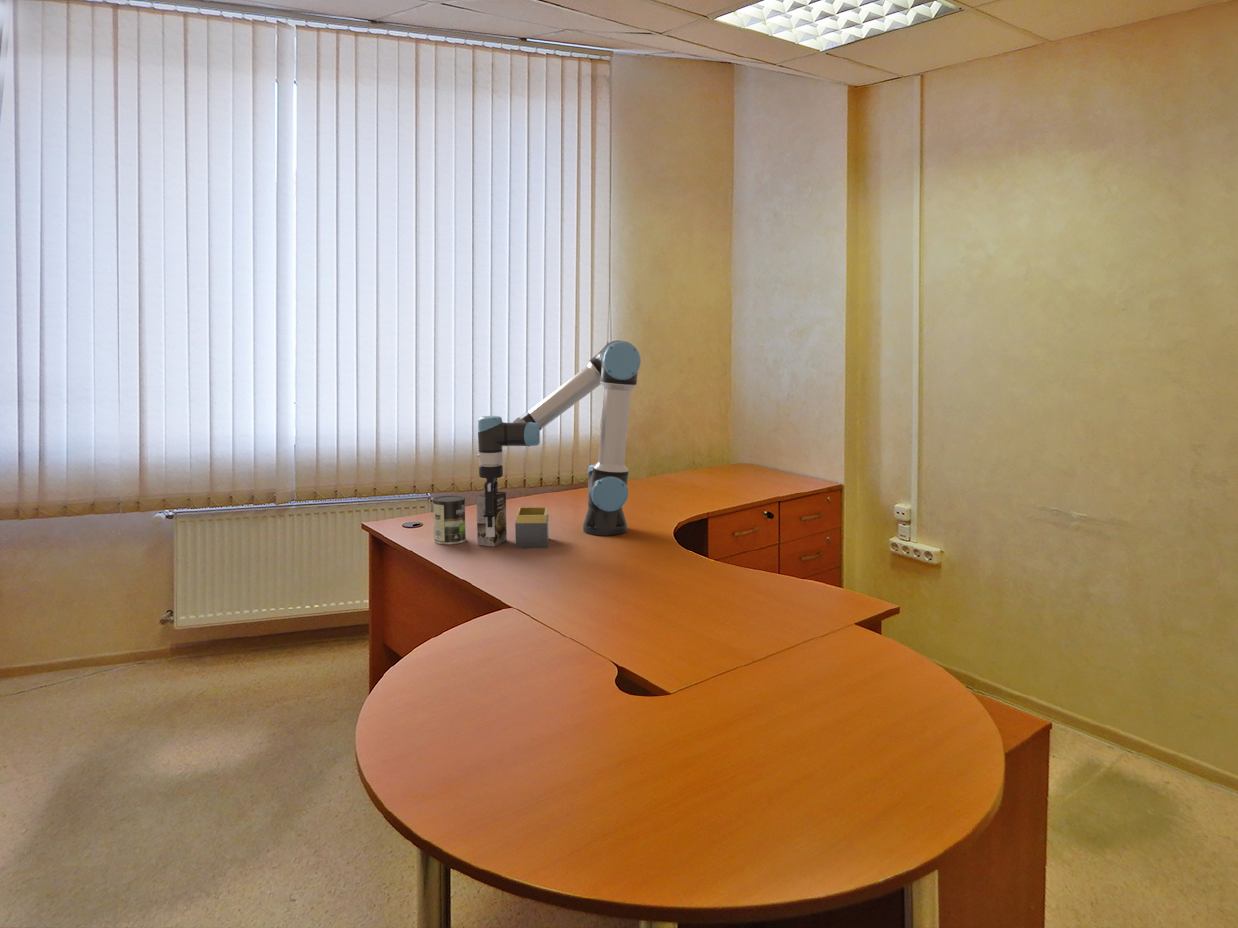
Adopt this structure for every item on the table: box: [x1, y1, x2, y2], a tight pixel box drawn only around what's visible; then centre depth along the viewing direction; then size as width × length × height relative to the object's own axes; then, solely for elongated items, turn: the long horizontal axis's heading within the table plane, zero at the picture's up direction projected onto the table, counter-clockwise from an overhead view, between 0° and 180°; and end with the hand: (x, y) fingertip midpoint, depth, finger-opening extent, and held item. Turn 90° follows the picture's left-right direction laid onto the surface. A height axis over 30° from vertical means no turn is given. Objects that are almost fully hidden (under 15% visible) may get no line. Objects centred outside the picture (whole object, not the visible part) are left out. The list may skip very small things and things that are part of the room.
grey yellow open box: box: [514, 506, 550, 549], centre depth 272 cm, size 10×12×10 cm
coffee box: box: [476, 491, 508, 547], centre depth 272 cm, size 9×6×16 cm
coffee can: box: [432, 495, 467, 545], centre depth 274 cm, size 10×10×14 cm
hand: (492, 532), depth 272 cm, fingers closed on coffee box, 10 cm apart
